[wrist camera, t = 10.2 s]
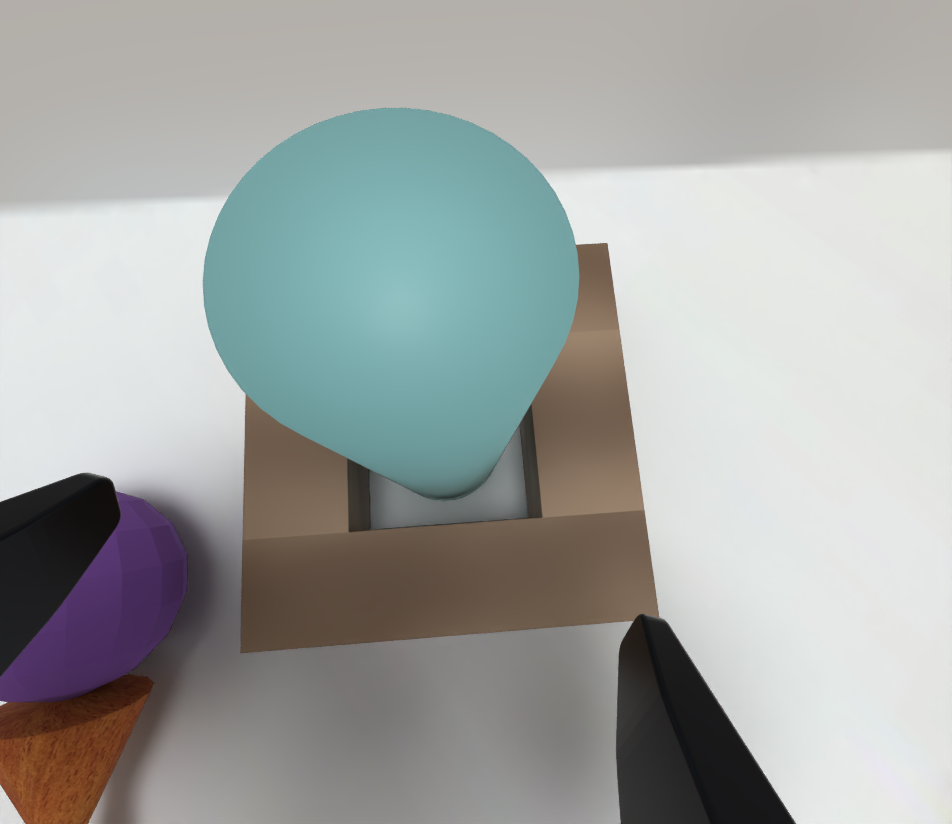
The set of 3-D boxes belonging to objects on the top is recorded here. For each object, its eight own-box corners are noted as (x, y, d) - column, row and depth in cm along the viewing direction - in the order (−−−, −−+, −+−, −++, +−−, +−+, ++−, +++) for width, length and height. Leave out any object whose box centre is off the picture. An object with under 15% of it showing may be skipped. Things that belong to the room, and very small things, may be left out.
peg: (516, 469, 19) (649, 344, 5) (420, 519, 19) (295, 527, 5) (467, 378, 20) (471, 58, 6) (374, 424, 19) (147, 194, 6)
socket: (622, 599, 18) (659, 618, 15) (283, 627, 18) (240, 653, 14) (583, 288, 21) (607, 243, 17) (285, 306, 20) (248, 263, 17)
